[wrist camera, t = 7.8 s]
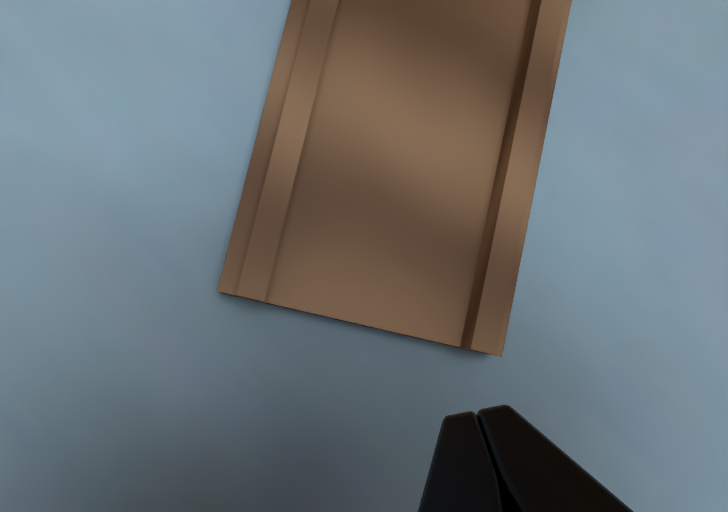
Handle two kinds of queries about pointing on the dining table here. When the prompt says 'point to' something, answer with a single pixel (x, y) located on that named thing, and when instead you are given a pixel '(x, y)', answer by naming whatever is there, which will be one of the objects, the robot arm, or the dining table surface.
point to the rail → (399, 164)
